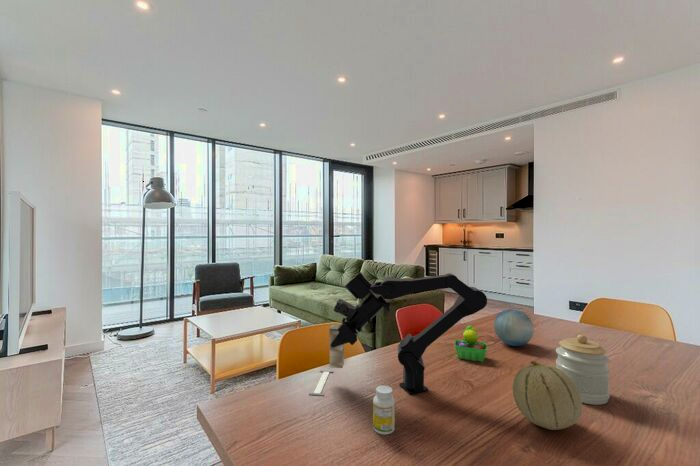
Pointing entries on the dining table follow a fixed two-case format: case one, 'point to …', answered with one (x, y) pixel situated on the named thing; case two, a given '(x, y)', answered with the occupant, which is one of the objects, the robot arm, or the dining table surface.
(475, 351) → the fruit basket
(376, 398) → the supplement bottle
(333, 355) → the beige tall block
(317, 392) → the tape line
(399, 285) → the robot arm
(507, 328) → the decorative ball
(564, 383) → the cantaloupe
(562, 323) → the dining table surface
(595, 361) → the jar
